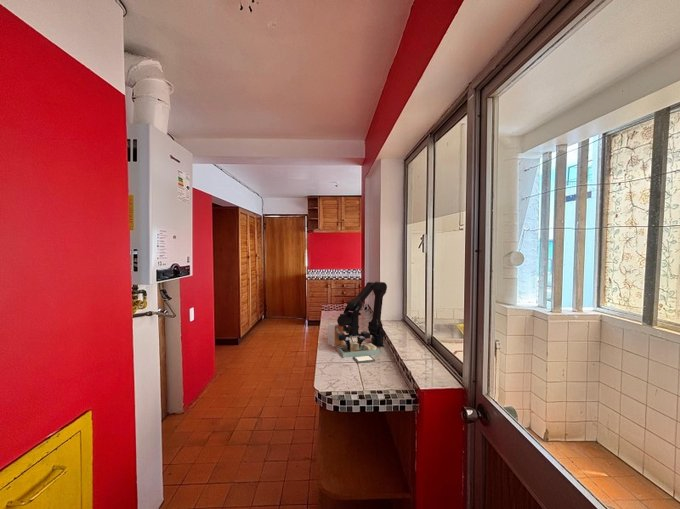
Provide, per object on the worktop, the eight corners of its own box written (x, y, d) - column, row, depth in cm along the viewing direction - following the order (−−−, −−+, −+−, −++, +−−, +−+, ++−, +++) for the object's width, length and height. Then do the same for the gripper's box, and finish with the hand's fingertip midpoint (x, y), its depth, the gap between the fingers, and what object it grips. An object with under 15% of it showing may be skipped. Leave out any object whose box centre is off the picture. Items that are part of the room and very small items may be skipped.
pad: (369, 356, 171) (369, 355, 171) (375, 361, 163) (375, 359, 163) (352, 358, 168) (352, 356, 168) (357, 363, 160) (357, 361, 160)
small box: (334, 346, 188) (334, 325, 188) (327, 344, 193) (327, 323, 192) (343, 343, 194) (344, 323, 193) (337, 341, 198) (337, 321, 198)
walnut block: (356, 351, 179) (356, 341, 179) (358, 354, 174) (359, 343, 174) (347, 352, 177) (347, 341, 177) (350, 355, 173) (350, 344, 173)
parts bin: (372, 348, 185) (372, 344, 185) (379, 354, 175) (379, 349, 175) (337, 351, 179) (337, 347, 179) (343, 357, 168) (343, 353, 168)
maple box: (370, 349, 183) (370, 343, 183) (376, 353, 176) (376, 346, 176) (363, 350, 181) (363, 344, 181) (368, 354, 174) (368, 347, 174)
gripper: (363, 319, 186) (363, 345, 186) (334, 321, 181) (333, 347, 181) (370, 323, 175) (370, 351, 175) (339, 325, 170) (339, 353, 170)
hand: (353, 350), depth 176 cm, fingers closed on walnut block, 5 cm apart
